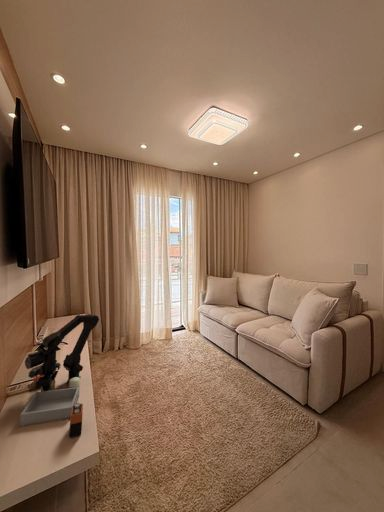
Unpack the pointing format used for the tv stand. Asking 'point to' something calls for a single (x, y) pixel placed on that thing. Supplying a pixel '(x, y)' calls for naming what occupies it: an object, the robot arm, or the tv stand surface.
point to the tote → (49, 406)
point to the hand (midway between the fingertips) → (47, 390)
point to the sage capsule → (74, 382)
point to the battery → (76, 420)
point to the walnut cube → (50, 386)
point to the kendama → (36, 378)
